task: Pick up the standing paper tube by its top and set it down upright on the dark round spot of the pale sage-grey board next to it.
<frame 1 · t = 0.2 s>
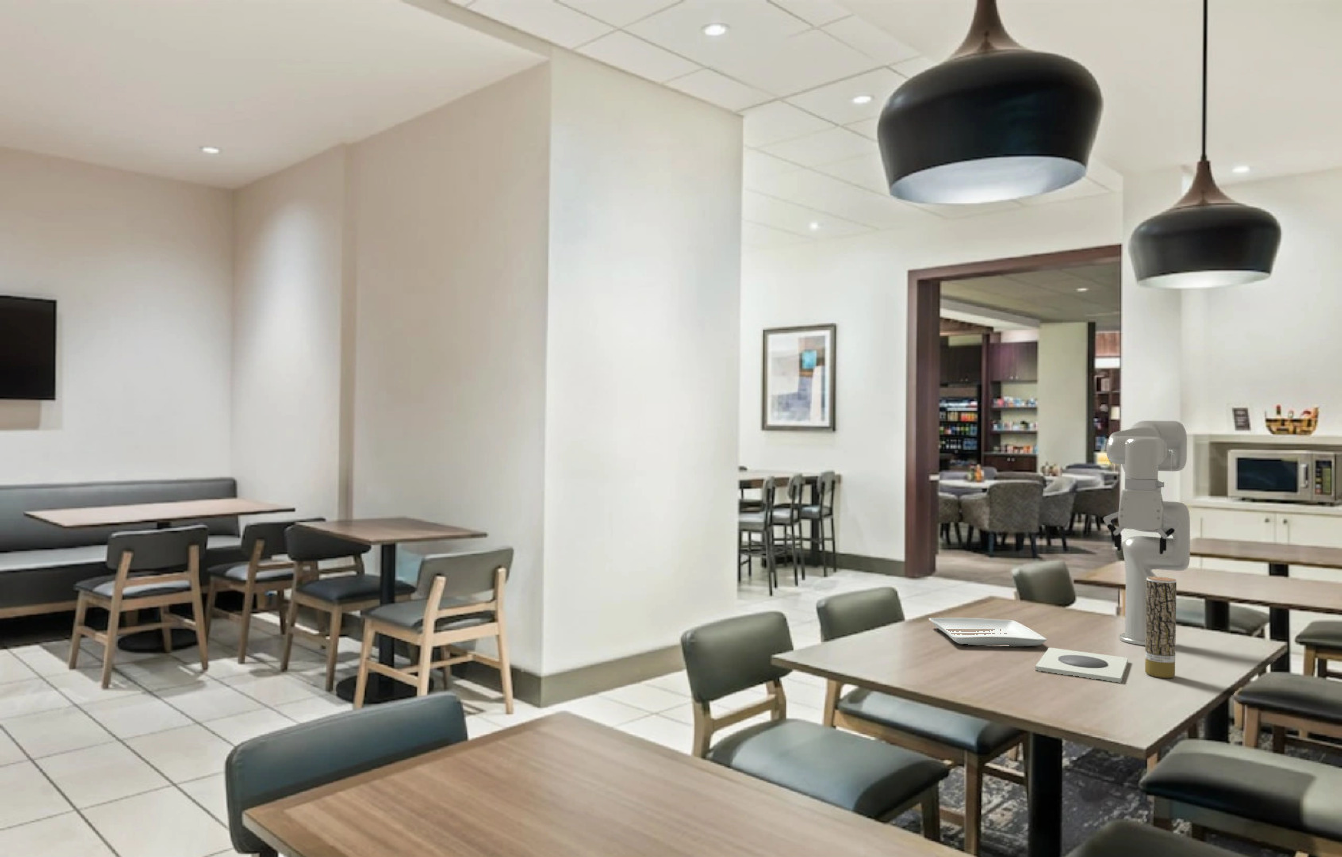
hand: (1140, 551, 227), 32 cm above the table, tool pointing down, fingers open, 9 cm apart
square plate: (984, 640, 267), on the table
paper tube: (1159, 676, 228), on the table
seat board: (1082, 666, 236), on the table
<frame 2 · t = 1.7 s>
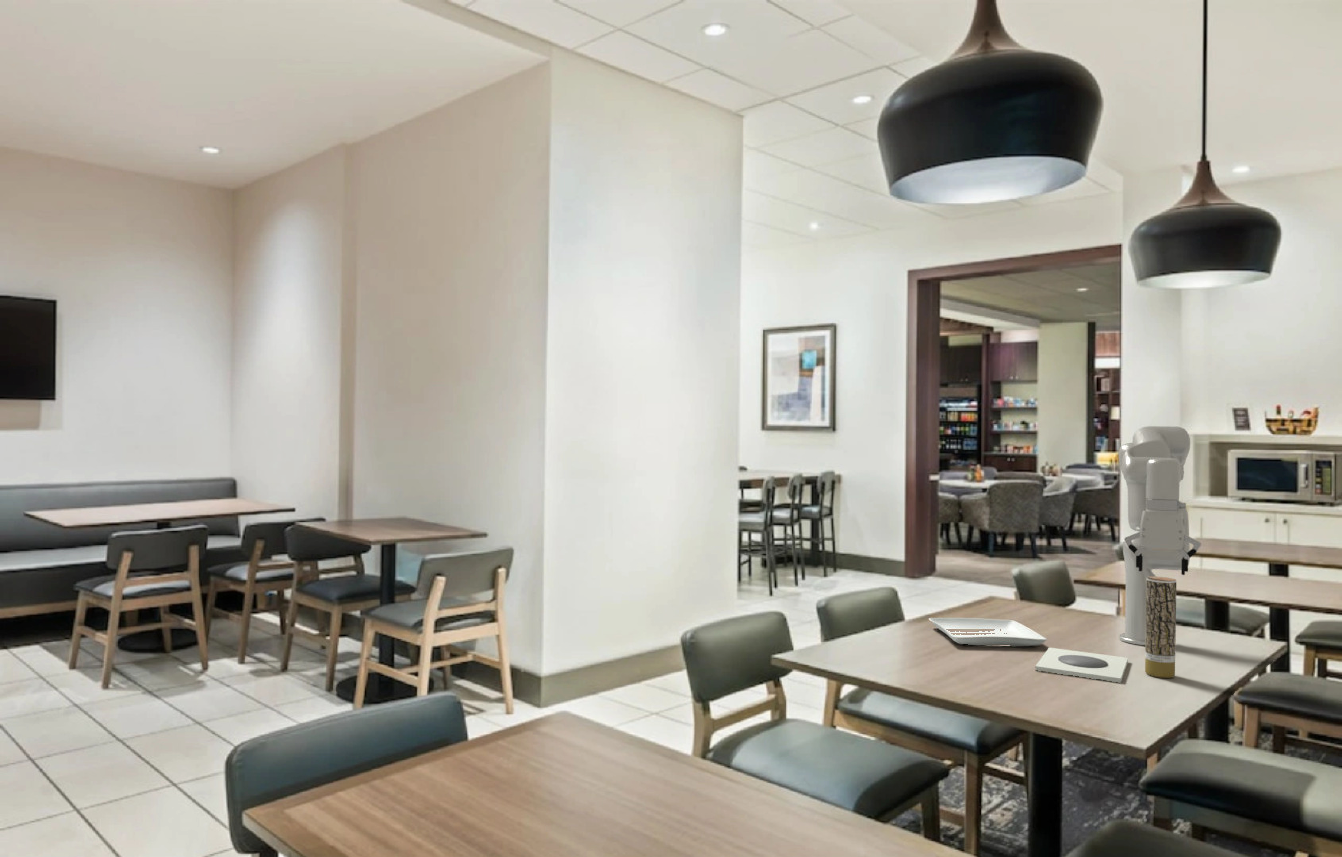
hand: (1161, 572, 228), 27 cm above the table, tool pointing down, fingers open, 9 cm apart
nothing on the table moved.
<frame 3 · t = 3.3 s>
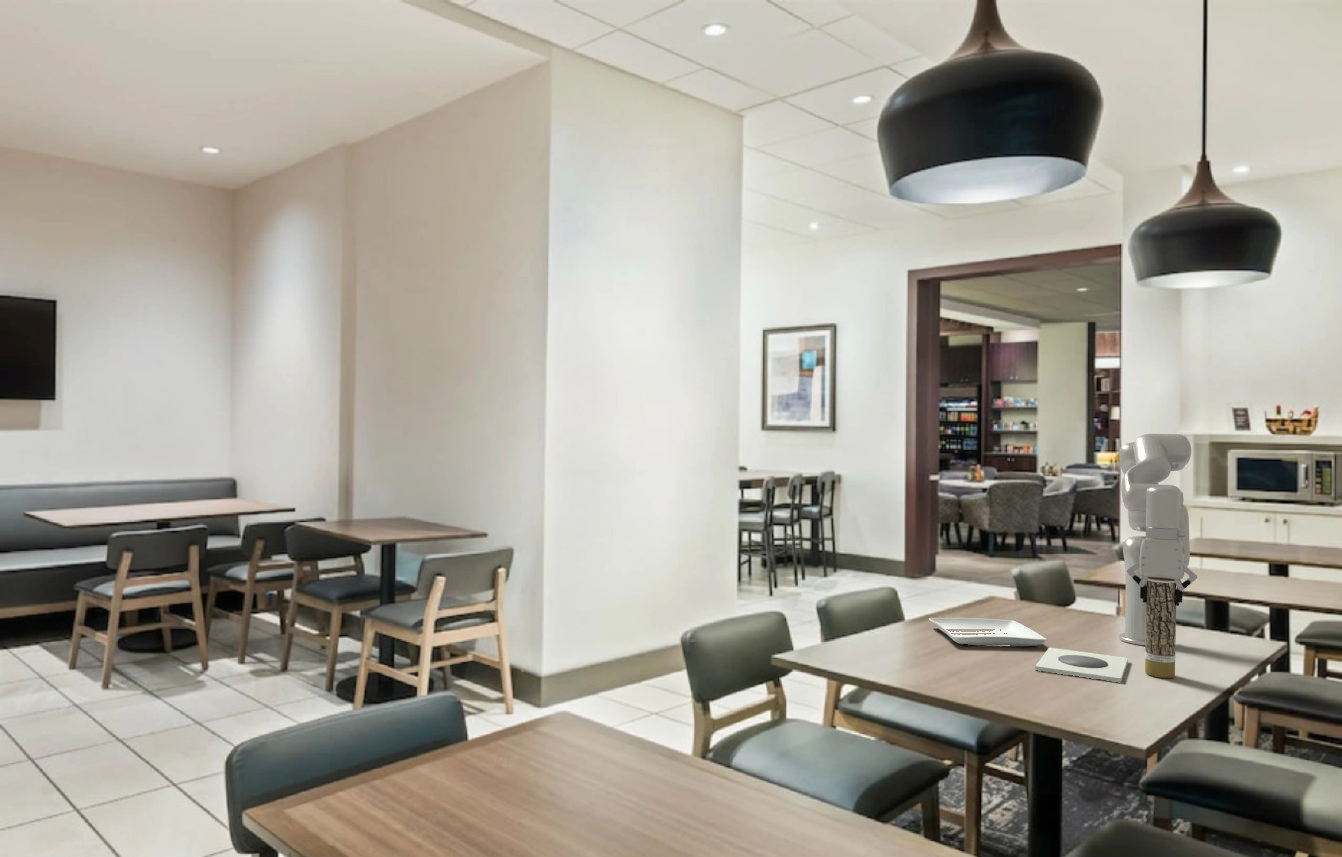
hand: (1161, 603, 228), 19 cm above the table, tool pointing down, fingers closed on paper tube, 6 cm apart
paper tube: (1159, 676, 228), on the table, touching gripper
everything else where it was.
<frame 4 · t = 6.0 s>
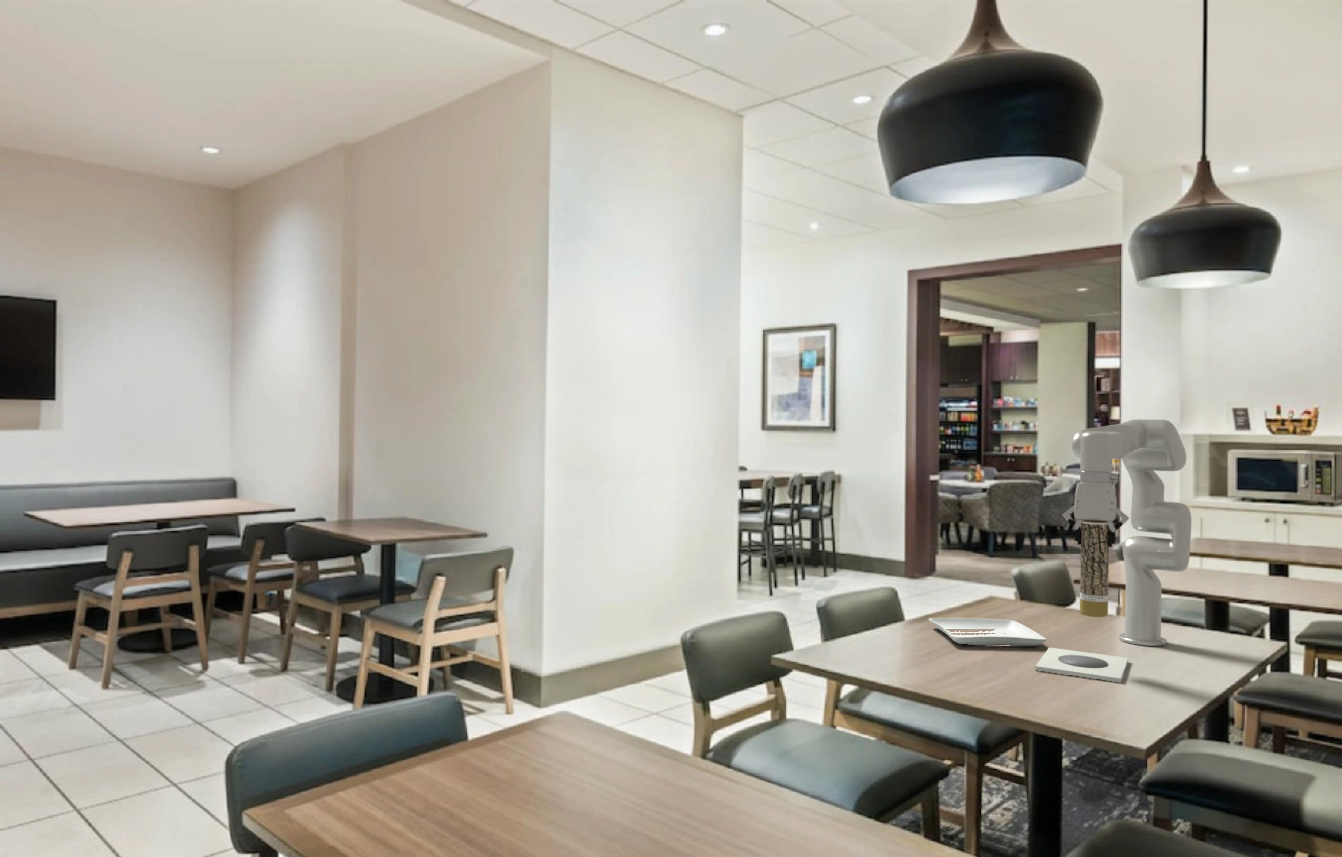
hand: (1094, 544, 235), 33 cm above the table, tool pointing down, fingers closed on paper tube, 6 cm apart
paper tube: (1093, 616, 234), point 14 cm above the table, touching gripper
everything else where it was.
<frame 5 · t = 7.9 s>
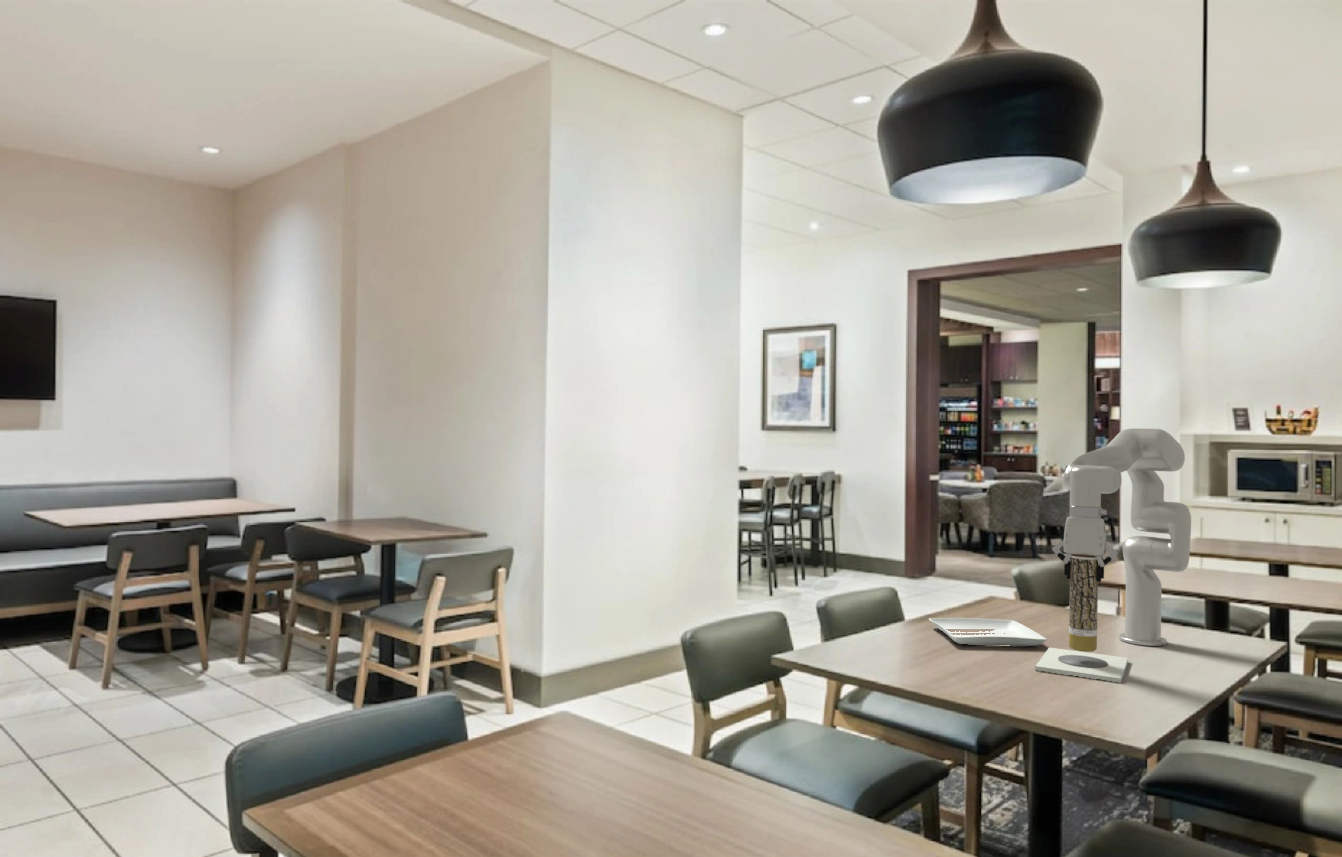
hand: (1083, 579, 236), 23 cm above the table, tool pointing down, fingers closed on paper tube, 6 cm apart
paper tube: (1082, 650, 235), point 4 cm above the table, touching gripper
everything else where it was.
when the fingers open (21 cm above the table, at t = 9.0 s): paper tube stays where it is, resting on seat board.
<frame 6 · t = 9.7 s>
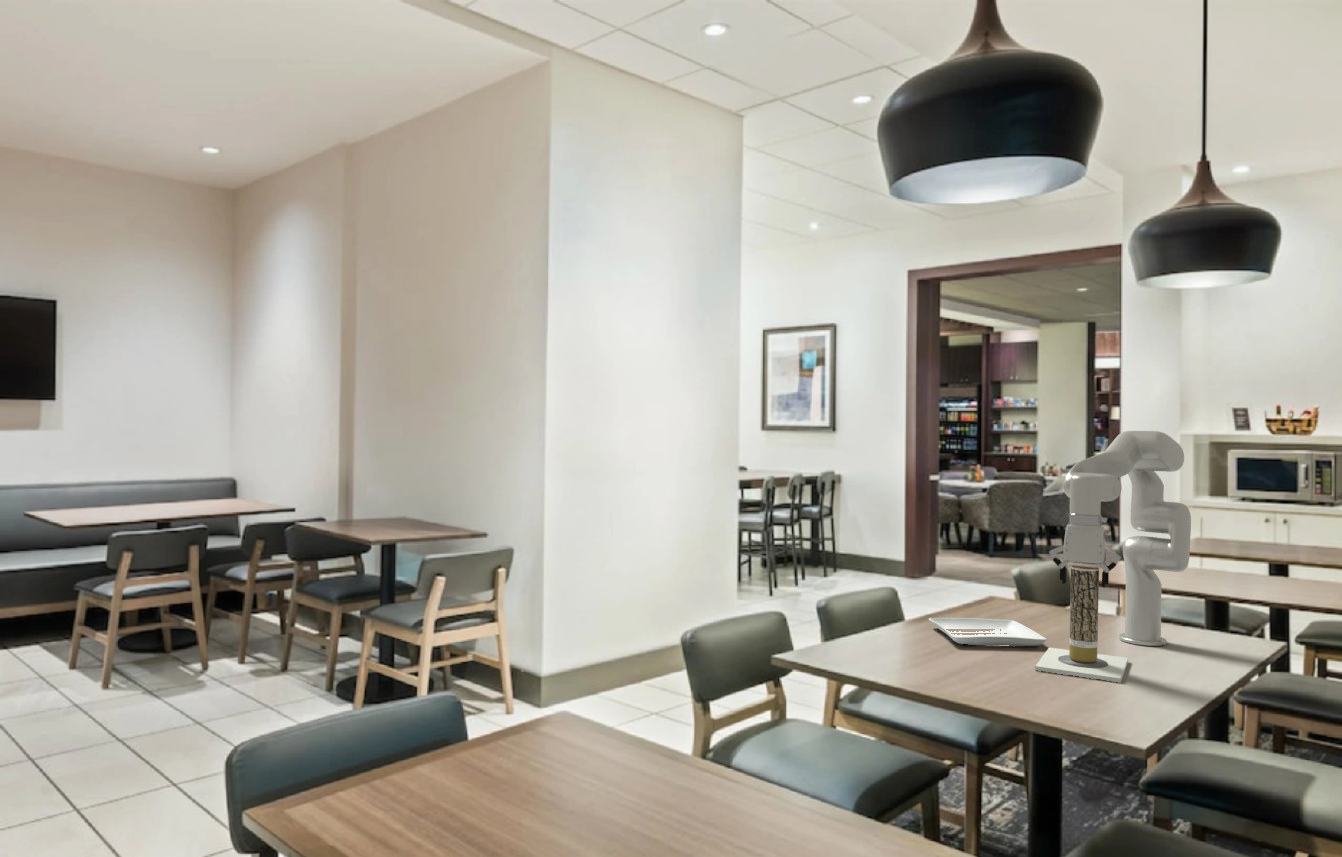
hand: (1083, 584, 236), 22 cm above the table, tool pointing down, fingers open, 9 cm apart
paper tube: (1083, 661, 236), point 1 cm above the table, touching seat board
everything else where it was.
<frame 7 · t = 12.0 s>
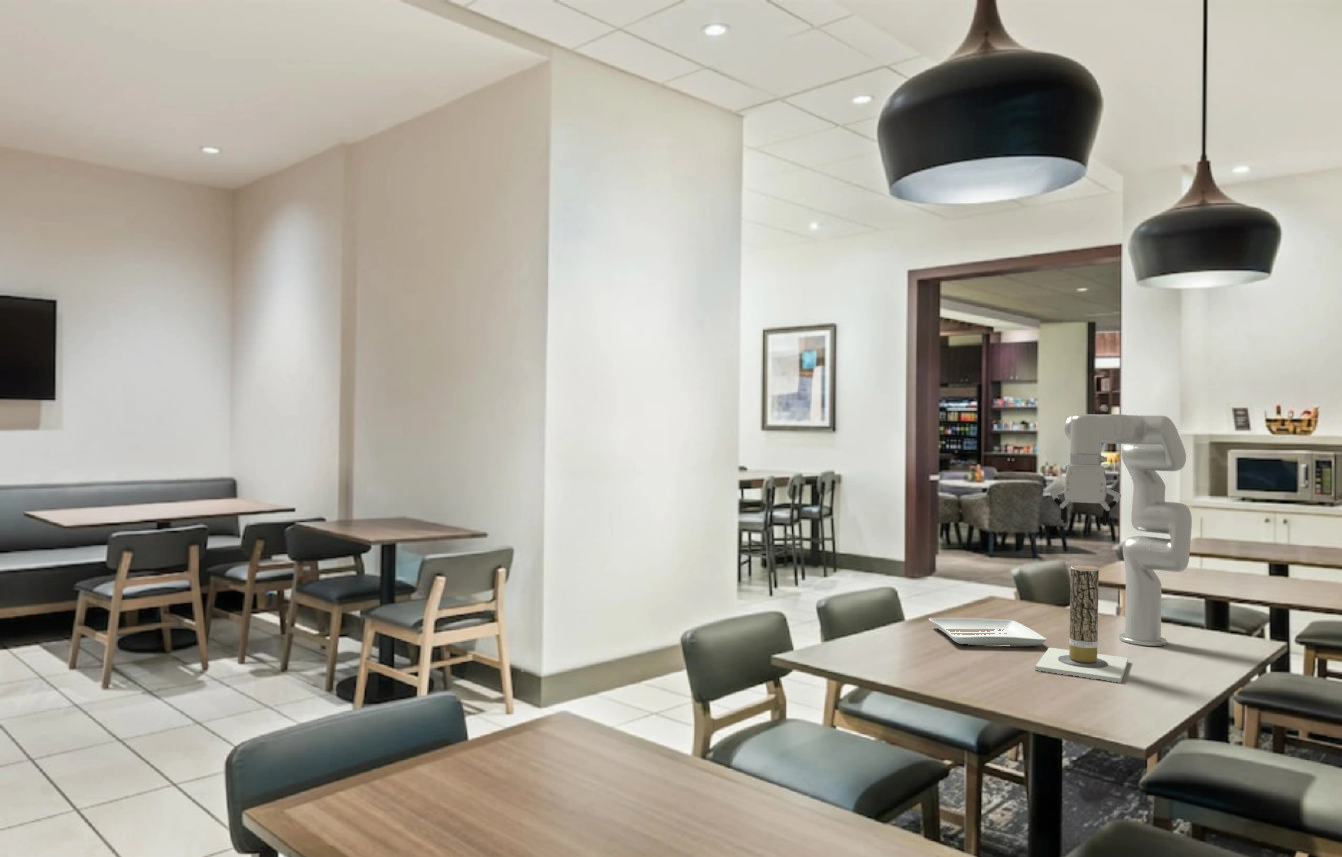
hand: (1084, 524, 238), 38 cm above the table, tool pointing down, fingers open, 9 cm apart
nothing on the table moved.
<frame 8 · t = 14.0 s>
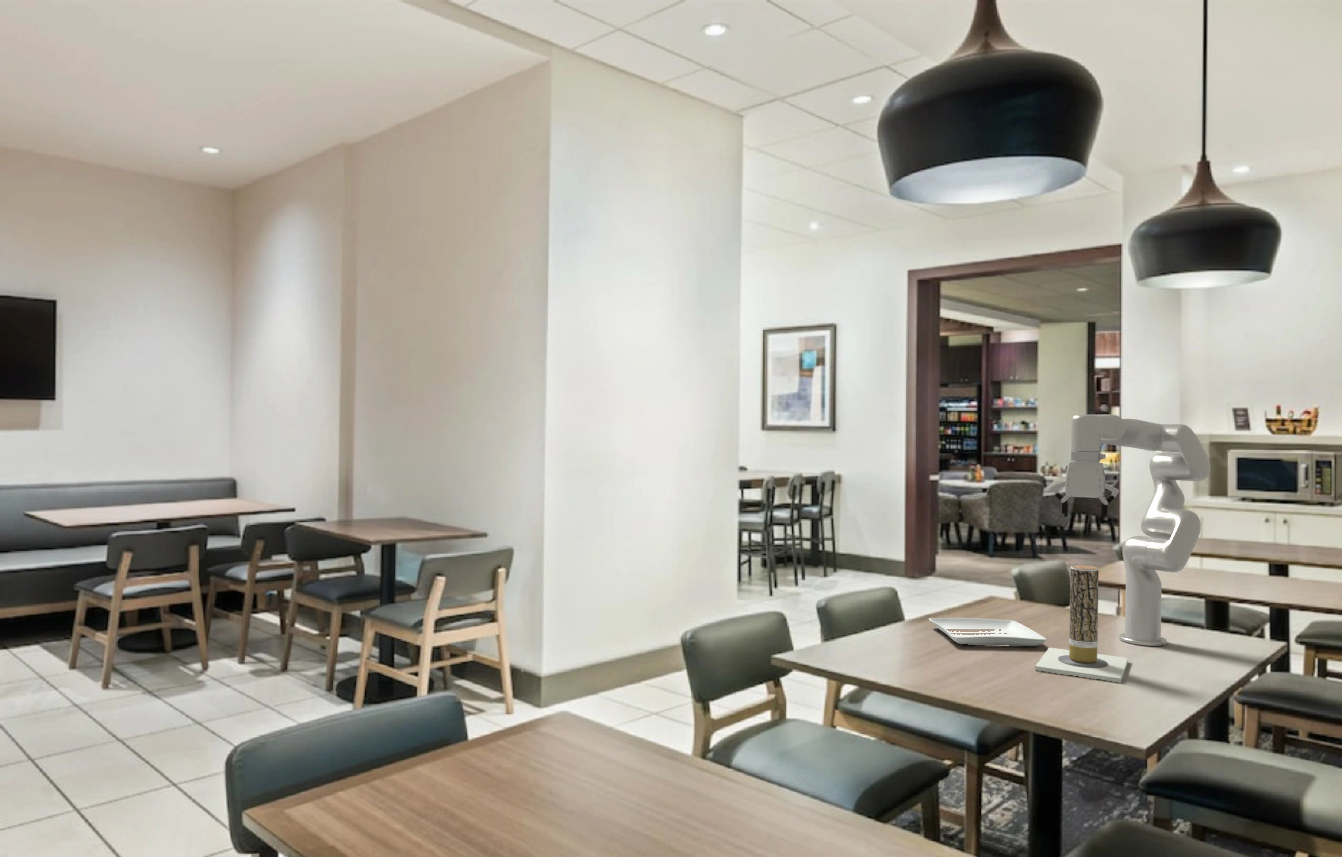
hand: (1084, 517, 252), 38 cm above the table, tool pointing down, fingers open, 9 cm apart
nothing on the table moved.
at the end: paper tube 0.2 cm off-centre on the seat board, point 1.3 cm above the seat board's base; paper tube tilted 0°; the gripper is holding nothing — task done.
